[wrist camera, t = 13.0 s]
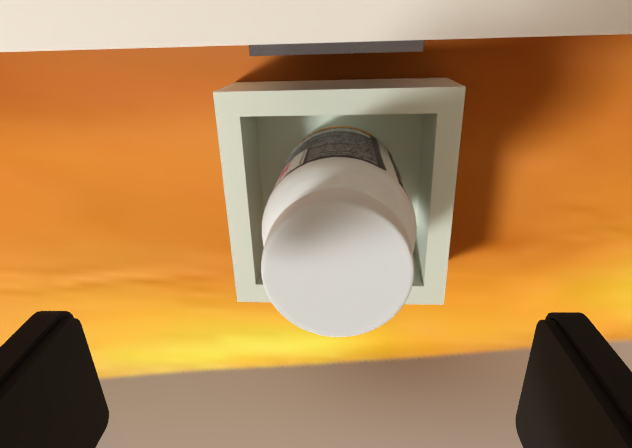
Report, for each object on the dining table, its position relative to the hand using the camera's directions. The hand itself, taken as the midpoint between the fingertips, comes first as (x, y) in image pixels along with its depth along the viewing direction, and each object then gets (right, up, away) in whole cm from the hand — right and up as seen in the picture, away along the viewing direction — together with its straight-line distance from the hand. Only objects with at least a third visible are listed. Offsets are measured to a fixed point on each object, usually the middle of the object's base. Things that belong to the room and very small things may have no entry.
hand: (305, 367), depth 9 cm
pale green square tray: (+1, +5, +14) cm, 15 cm away
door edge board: (+1, +13, +11) cm, 16 cm away
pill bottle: (+2, +5, +13) cm, 14 cm away
